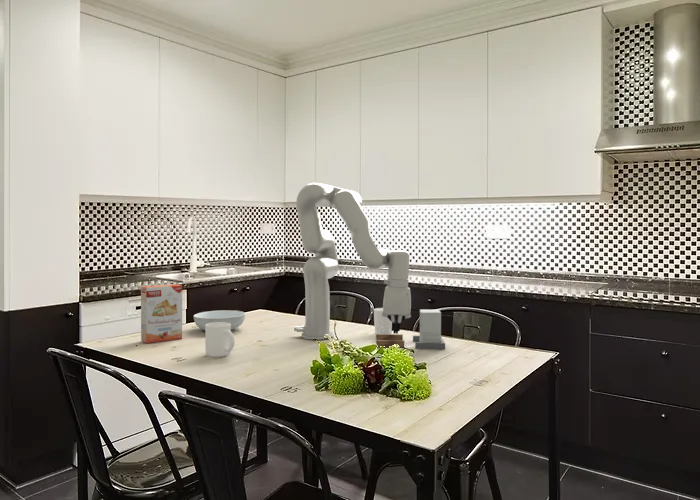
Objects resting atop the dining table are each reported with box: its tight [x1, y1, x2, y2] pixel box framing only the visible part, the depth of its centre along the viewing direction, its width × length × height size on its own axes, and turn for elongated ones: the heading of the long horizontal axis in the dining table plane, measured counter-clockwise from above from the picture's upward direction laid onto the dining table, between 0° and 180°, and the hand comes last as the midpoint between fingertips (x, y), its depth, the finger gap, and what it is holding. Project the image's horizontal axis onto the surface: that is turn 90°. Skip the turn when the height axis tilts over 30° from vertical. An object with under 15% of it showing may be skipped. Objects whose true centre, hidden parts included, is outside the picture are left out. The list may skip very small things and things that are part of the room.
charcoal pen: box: [412, 335, 446, 350], centre depth 198 cm, size 10×13×2 cm
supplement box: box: [419, 309, 442, 343], centre depth 199 cm, size 7×7×13 cm
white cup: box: [373, 307, 393, 335], centre depth 218 cm, size 8×8×10 cm
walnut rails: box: [375, 333, 405, 348], centre depth 199 cm, size 10×12×2 cm
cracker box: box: [140, 283, 183, 344], centre depth 203 cm, size 14×6×21 cm, turn 131°
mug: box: [204, 322, 236, 358], centre depth 180 cm, size 12×8×10 cm
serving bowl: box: [193, 309, 246, 331], centre depth 224 cm, size 21×21×7 cm
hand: (395, 332), depth 199 cm, fingers closed
